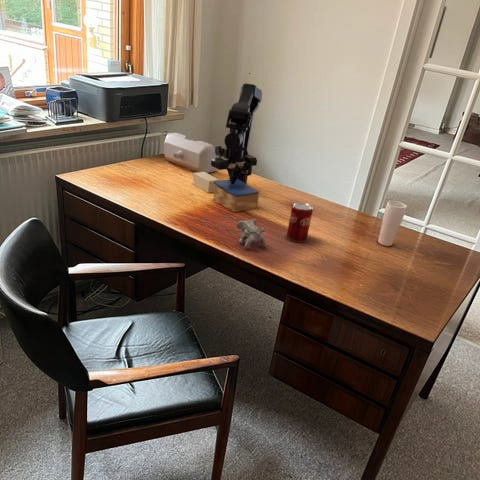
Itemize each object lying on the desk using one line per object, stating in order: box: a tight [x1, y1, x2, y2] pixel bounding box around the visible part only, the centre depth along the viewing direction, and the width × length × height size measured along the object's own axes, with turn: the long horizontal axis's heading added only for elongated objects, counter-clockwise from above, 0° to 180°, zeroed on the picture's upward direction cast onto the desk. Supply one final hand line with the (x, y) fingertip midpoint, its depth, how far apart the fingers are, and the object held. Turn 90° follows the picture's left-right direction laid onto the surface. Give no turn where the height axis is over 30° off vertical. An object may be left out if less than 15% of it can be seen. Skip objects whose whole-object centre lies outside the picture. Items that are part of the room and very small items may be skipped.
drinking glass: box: [377, 200, 408, 247], centre depth 169 cm, size 7×7×15 cm
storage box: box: [212, 186, 260, 213], centre depth 188 cm, size 14×12×6 cm
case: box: [192, 172, 220, 194], centre depth 200 cm, size 11×5×5 cm, turn 40°
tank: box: [163, 132, 219, 174], centre depth 218 cm, size 25×16×12 cm, turn 52°
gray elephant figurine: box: [236, 218, 266, 250], centre depth 158 cm, size 9×12×8 cm
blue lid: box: [214, 178, 260, 197], centre depth 186 cm, size 14×12×1 cm
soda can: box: [286, 201, 314, 243], centre depth 165 cm, size 7×7×12 cm
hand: (232, 183), depth 187 cm, fingers closed, pressing on blue lid
